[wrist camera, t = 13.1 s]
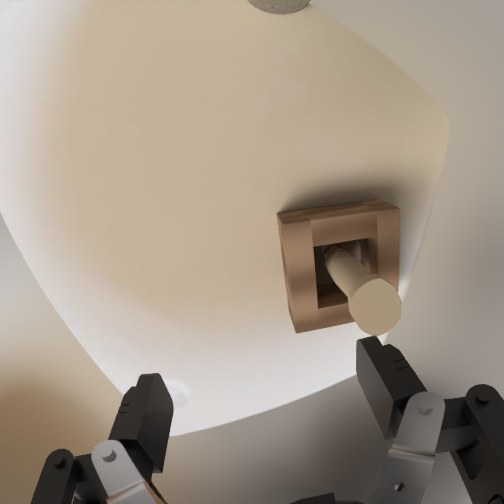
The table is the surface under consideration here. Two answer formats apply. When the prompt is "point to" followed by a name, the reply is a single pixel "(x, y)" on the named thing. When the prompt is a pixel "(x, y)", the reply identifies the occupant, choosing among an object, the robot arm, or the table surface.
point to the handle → (364, 292)
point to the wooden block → (328, 232)
